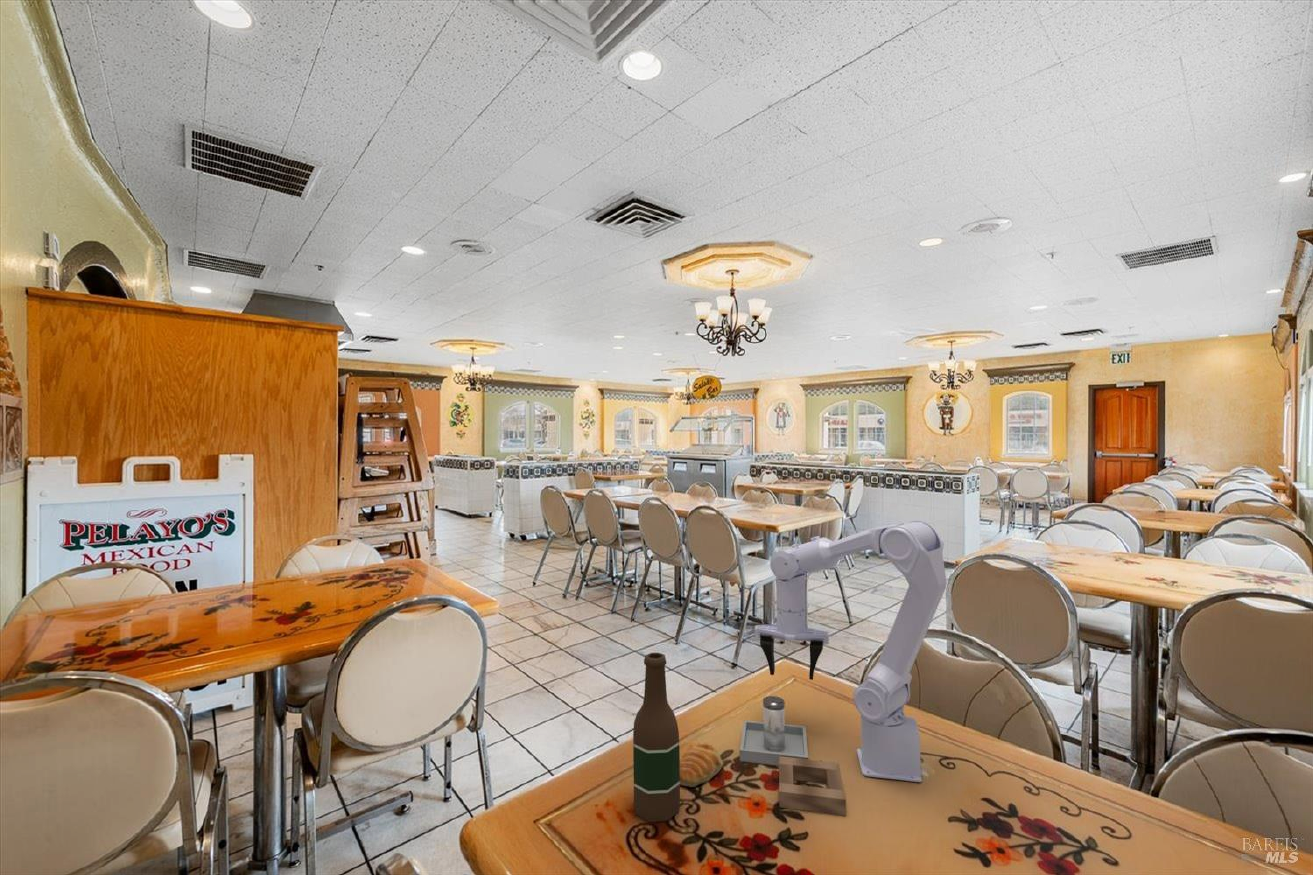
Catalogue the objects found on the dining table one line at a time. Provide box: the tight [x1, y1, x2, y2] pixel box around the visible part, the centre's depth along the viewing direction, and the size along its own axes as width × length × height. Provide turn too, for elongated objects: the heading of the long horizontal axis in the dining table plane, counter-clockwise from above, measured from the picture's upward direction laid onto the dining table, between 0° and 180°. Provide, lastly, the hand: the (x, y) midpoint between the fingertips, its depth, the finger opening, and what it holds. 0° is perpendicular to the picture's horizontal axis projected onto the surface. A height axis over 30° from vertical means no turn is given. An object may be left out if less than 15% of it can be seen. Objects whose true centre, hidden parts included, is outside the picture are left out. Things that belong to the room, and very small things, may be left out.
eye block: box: [778, 756, 847, 817], centre depth 91 cm, size 10×10×2 cm
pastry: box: [680, 742, 724, 788], centre depth 96 cm, size 9×7×4 cm
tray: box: [739, 720, 809, 767], centre depth 104 cm, size 12×11×2 cm
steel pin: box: [762, 695, 786, 752], centre depth 103 cm, size 4×4×8 cm
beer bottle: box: [632, 652, 681, 823], centre depth 87 cm, size 8×8×24 cm
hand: (791, 675), depth 112 cm, fingers open, 7 cm apart
